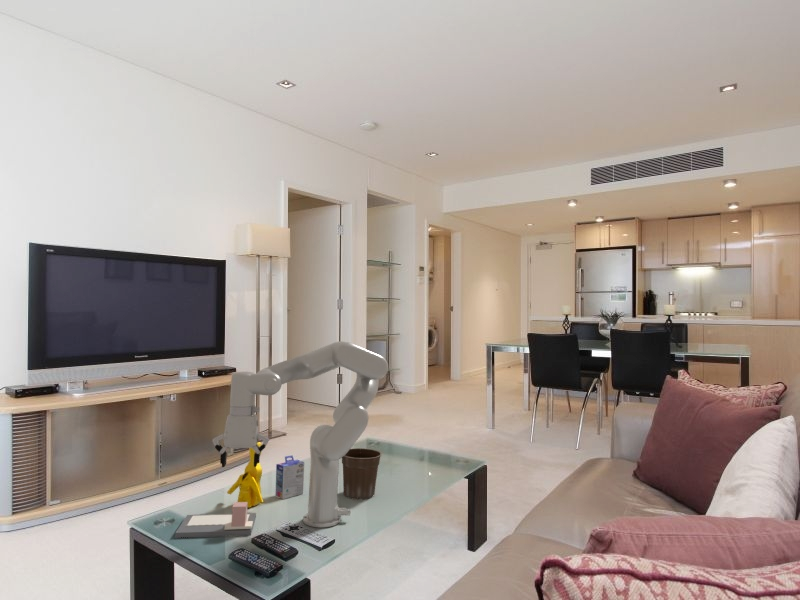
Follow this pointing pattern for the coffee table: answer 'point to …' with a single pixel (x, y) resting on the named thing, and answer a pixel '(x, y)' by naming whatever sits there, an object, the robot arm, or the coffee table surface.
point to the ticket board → (211, 526)
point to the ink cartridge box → (289, 478)
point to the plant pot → (360, 472)
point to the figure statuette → (249, 483)
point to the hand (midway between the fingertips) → (239, 465)
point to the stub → (239, 517)
